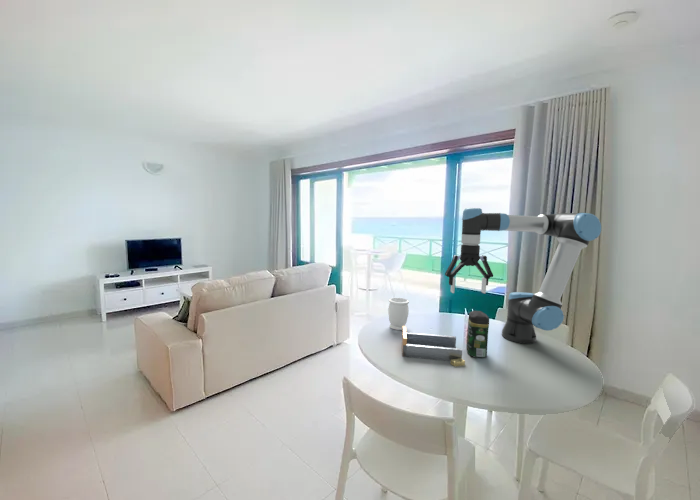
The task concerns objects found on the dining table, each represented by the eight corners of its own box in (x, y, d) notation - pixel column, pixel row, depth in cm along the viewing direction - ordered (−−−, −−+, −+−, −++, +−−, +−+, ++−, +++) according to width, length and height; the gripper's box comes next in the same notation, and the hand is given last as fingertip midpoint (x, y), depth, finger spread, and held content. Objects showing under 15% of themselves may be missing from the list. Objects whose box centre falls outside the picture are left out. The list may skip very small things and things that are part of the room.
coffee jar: (464, 348, 140) (467, 308, 138) (483, 350, 138) (486, 310, 136) (468, 357, 130) (471, 315, 128) (488, 359, 129) (492, 316, 127)
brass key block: (460, 362, 126) (461, 358, 126) (464, 365, 124) (465, 361, 123) (450, 364, 125) (450, 359, 124) (454, 367, 122) (454, 362, 122)
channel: (454, 346, 141) (455, 330, 140) (461, 361, 126) (462, 343, 125) (401, 342, 145) (402, 325, 144) (402, 356, 130) (403, 338, 129)
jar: (410, 326, 166) (411, 299, 164) (403, 332, 157) (404, 304, 155) (392, 322, 171) (393, 296, 170) (384, 328, 162) (385, 300, 161)
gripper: (495, 243, 136) (492, 290, 138) (439, 243, 136) (437, 290, 138) (503, 245, 129) (500, 295, 131) (444, 244, 129) (441, 294, 131)
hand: (467, 292), depth 135 cm, fingers open, 13 cm apart
